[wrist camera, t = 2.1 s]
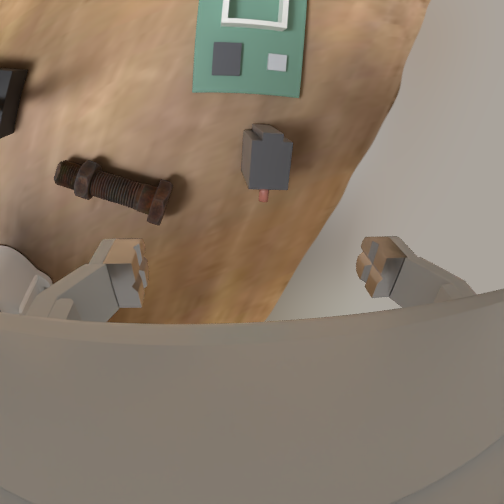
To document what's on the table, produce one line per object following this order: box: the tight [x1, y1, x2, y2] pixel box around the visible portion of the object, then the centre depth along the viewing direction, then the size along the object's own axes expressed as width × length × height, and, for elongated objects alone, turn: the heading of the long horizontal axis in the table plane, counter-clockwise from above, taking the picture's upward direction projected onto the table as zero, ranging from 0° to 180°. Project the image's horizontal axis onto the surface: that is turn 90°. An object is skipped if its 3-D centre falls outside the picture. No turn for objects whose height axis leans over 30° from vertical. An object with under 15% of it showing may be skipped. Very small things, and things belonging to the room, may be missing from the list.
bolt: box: [54, 160, 173, 225], centre depth 30 cm, size 6×5×15 cm
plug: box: [241, 124, 293, 202], centre depth 30 cm, size 8×4×7 cm, turn 176°
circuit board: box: [192, 0, 307, 98], centre depth 22 cm, size 20×12×3 cm, turn 176°
